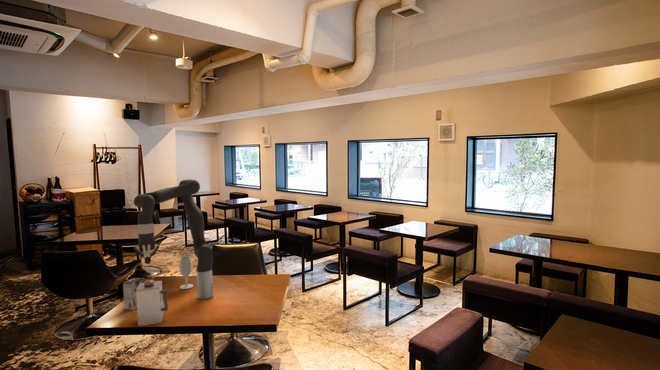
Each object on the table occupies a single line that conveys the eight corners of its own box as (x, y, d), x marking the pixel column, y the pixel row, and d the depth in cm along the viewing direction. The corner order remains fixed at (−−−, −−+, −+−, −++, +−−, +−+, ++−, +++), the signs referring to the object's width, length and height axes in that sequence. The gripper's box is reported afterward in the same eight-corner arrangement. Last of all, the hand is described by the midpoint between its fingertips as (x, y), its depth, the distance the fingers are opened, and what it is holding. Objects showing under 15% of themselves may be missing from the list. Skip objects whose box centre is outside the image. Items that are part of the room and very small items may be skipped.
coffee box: (135, 302, 216) (134, 277, 215) (144, 303, 215) (143, 277, 214) (124, 309, 207) (122, 282, 206) (133, 309, 206) (131, 283, 205)
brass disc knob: (160, 313, 198) (158, 277, 196) (158, 319, 190) (156, 282, 189) (143, 315, 195) (141, 279, 194) (141, 322, 187) (139, 284, 186)
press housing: (169, 313, 201) (167, 279, 199) (167, 321, 190) (165, 286, 189) (141, 317, 196) (139, 283, 195) (138, 326, 186) (136, 290, 184)
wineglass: (180, 290, 235) (178, 259, 234) (179, 286, 243) (177, 256, 242) (194, 288, 239) (192, 257, 238) (192, 284, 247) (191, 254, 246)
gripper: (160, 229, 195) (162, 260, 196) (133, 231, 190) (135, 263, 192) (158, 232, 188) (160, 264, 189) (130, 234, 183) (132, 267, 185)
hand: (147, 263), depth 190 cm, fingers closed
